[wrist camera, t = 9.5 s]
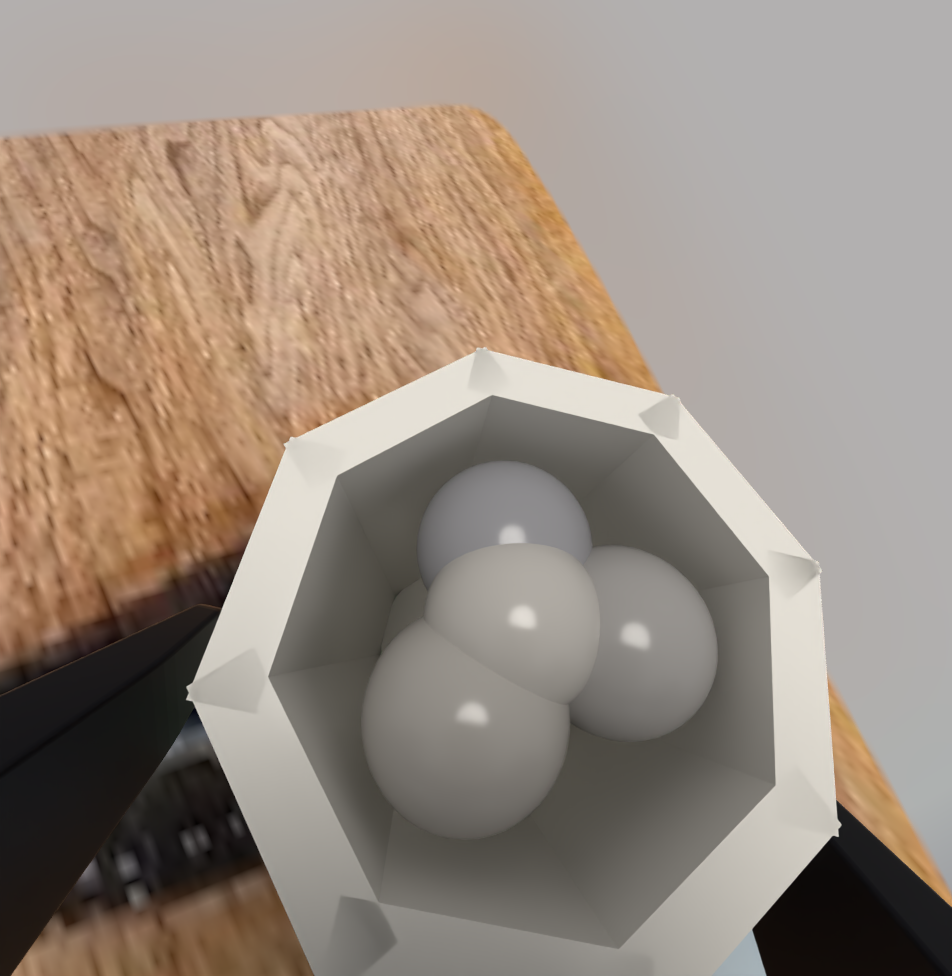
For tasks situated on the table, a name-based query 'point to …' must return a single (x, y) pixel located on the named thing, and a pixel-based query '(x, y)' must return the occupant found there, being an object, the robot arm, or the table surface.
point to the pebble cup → (522, 684)
